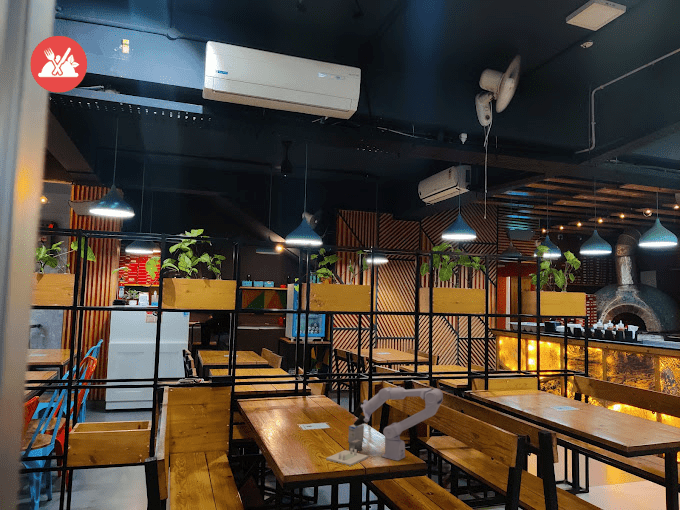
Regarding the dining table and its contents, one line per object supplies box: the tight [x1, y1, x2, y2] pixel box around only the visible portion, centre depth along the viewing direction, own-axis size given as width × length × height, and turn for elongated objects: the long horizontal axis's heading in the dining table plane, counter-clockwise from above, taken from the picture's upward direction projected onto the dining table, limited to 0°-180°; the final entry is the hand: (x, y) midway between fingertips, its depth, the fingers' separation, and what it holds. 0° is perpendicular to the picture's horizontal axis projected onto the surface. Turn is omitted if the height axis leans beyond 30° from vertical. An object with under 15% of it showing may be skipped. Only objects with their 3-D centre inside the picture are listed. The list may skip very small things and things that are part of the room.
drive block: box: [348, 439, 363, 453], centre depth 255 cm, size 4×7×5 cm, turn 145°
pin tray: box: [325, 448, 370, 467], centre depth 242 cm, size 14×16×4 cm
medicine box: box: [348, 424, 365, 443], centre depth 272 cm, size 8×4×9 cm, turn 141°
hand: (355, 419), depth 259 cm, fingers open, 7 cm apart
